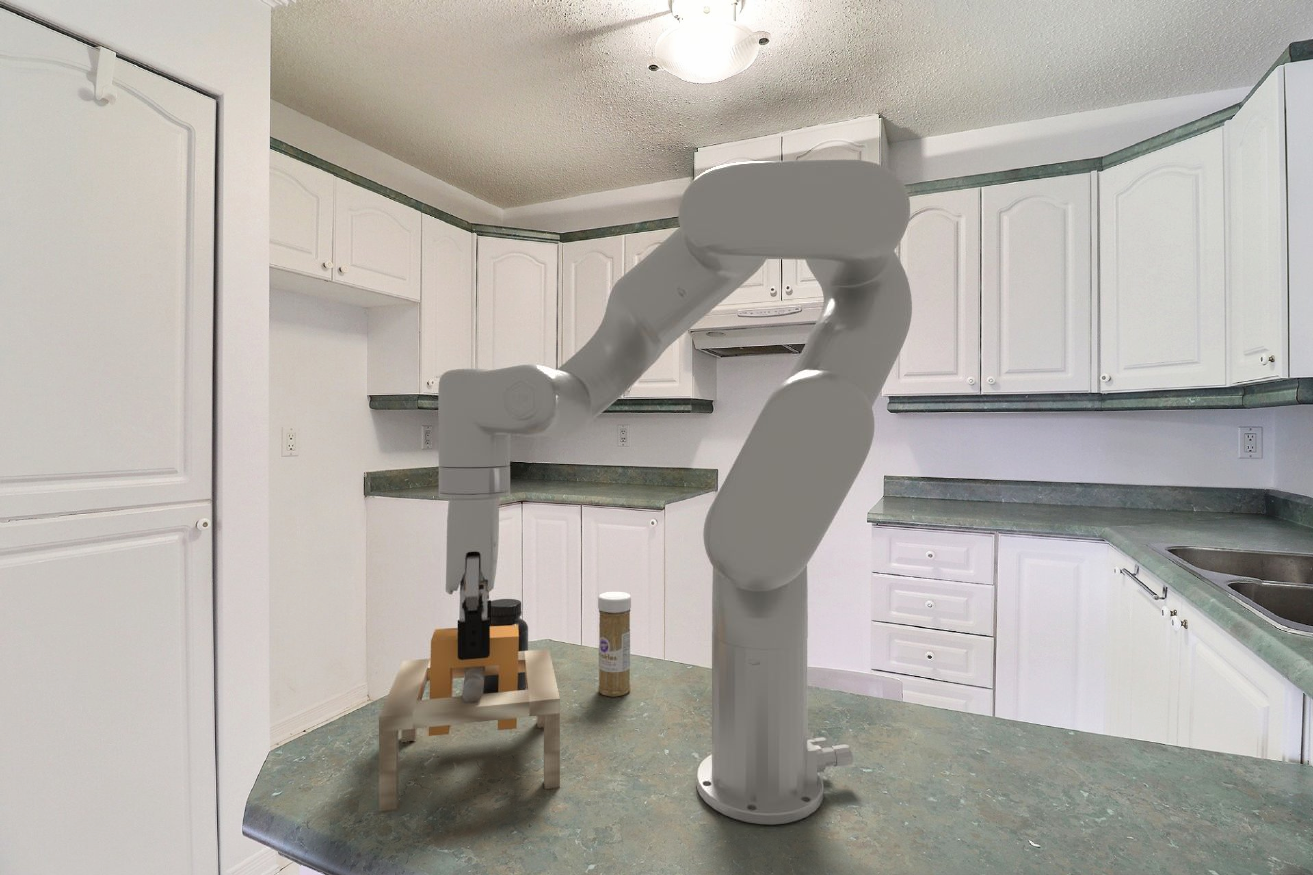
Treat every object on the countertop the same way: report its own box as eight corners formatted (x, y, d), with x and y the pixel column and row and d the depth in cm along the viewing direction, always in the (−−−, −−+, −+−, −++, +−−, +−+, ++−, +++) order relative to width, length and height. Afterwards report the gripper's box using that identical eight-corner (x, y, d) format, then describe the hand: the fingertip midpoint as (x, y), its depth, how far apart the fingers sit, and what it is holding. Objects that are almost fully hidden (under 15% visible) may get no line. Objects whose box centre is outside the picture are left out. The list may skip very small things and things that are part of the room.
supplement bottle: (522, 698, 85) (521, 609, 85) (471, 697, 85) (471, 609, 85) (533, 678, 92) (532, 596, 92) (486, 677, 92) (486, 596, 92)
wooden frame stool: (549, 721, 78) (549, 632, 78) (559, 787, 63) (559, 678, 63) (403, 736, 74) (403, 643, 74) (379, 811, 59) (378, 695, 59)
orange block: (516, 712, 72) (518, 625, 72) (516, 728, 68) (518, 636, 68) (432, 718, 69) (435, 629, 69) (428, 736, 66) (430, 640, 66)
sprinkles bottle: (591, 694, 86) (591, 596, 86) (609, 682, 90) (609, 589, 90) (620, 700, 84) (620, 600, 84) (637, 688, 88) (637, 592, 88)
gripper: (445, 478, 76) (446, 625, 76) (429, 490, 59) (430, 680, 59) (509, 477, 78) (509, 621, 78) (511, 489, 61) (511, 672, 61)
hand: (475, 645), depth 69 cm, fingers open, 6 cm apart
